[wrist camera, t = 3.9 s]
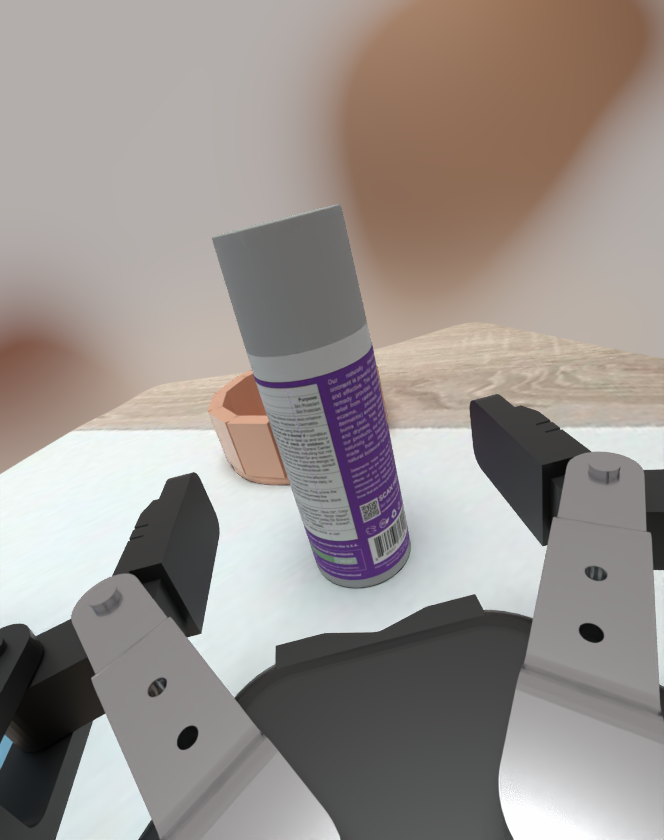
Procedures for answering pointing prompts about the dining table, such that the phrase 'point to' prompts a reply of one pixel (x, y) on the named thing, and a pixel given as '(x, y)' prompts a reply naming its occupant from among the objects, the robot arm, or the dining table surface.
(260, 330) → the container
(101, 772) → the dining table surface
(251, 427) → the faceted terracotta pot
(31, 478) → the dining table surface
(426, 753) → the robot arm
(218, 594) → the dining table surface
